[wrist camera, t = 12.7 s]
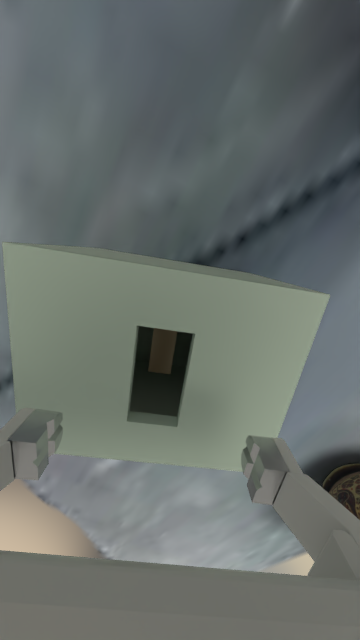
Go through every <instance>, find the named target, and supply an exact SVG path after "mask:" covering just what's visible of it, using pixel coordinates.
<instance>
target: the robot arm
mask: <svg viewBox="0 0 360 640" xmlns="http://www.w3.org/2000/svg"><path fill="white" fill-rule="evenodd" d="M62 420H63V413H61V412H56V411H49V410H42V409H33V408H27V407H25V408H22V409H21V410H20V411H19V412H18V413H17V414H16V415H15V416H14V417H13V418H12V419H11V420H10V421H9V422H8V423H7V424H6V425H5V426H4V427H3V428H2V429H1V430H0V491H1V490H2V489H3V488H5V487H6V486H7V485H8V484H10V483H11V482H12V481H14V479H27V480H39V478H40V477H41V475H42V473H43V472H44V470H45V468H46V467H47V465H48V464H49V460H48V457H50V456H51V455H53V454H54V453H55V452H56V450H57V449H58V447H59V445H60V442H61V439H62V435H63V428H62V426H61V425H60V423H61V422H62ZM245 442H246V445H247V447H245V448H244V449H243V451H242V454H241V465H242V470H243V474H244V475H245V476H246V477H247V478H248V479H249V480H248V483H247V487H248V490H249V494H250V497H251V500H252V502H253V503H261V504H268V505H273V508H274V509H275V510H276V512H277V513H278V514H279V515H280V517H281V518H282V519H283V521H284V522H285V523H286V525H287V526H288V527H289V529H290V530H291V531H292V533H293V534H294V535H295V536H296V538H297V539H298V540H299V542H300V543H301V544H302V546H303V547H304V548H305V550H306V551H307V552H308V554H309V555H310V556H311V557H312V559H313V560H314V561H315V563H314V564H313V566H312V568H311V570H310V571H309V573H308V576H301V575H288V574H276V573H264V572H253V571H241V570H229V569H217V568H205V567H194V566H182V565H170V564H158V563H146V562H134V561H122V560H110V559H98V558H86V557H73V556H61V555H50V554H37V553H26V552H14V551H1V550H0V640H360V520H359V519H358V518H357V517H356V516H354V515H353V514H352V513H351V512H350V511H349V510H347V509H346V508H345V507H344V506H343V505H342V504H341V503H339V502H338V501H337V500H336V499H335V498H334V497H332V496H331V495H330V494H329V493H328V492H327V491H325V490H324V489H323V488H322V487H321V486H320V485H318V484H317V483H316V482H315V481H314V480H313V479H312V478H310V477H309V476H308V475H306V474H303V472H302V471H301V469H300V467H299V465H298V464H297V462H296V460H295V458H294V457H293V455H292V453H291V451H290V450H289V448H288V446H287V444H286V443H285V441H284V440H283V439H282V438H272V437H271V438H270V437H263V436H254V435H248V437H247V439H246V441H245Z"/></svg>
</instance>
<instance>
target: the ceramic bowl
mask: <svg viewBox="0 0 360 640" xmlns="http://www.w3.org/2000/svg"><path fill="white" fill-rule="evenodd" d="M322 488H323V489H324V490H325V491H327V492H328V493H329V494H330V495H331V496H332V497H334V498H335V499H336V500H337V501H338V502H339V503H341V504H342V505H343V506H344V507H345V508H346V509H347V510H349V511H350V512H351V513H352V514H353V515H354V516H356V517H357V518H358V519H359V520H360V464H358V463H356V464H348V465H343V466H341V467H338V468H336V469H335V470H333V471H332V472H331V473H330V474H329V475H328V476H327V478H326V479H325V481H324V482H323V487H322Z"/></svg>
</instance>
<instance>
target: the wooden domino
mask: <svg viewBox="0 0 360 640" xmlns="http://www.w3.org/2000/svg"><path fill="white" fill-rule="evenodd" d="M176 337H177V331H172V330H165V329H158V328H154V331H153V338H152V346H151V353H150V361H149V369H148V372H156V373H164V374H170V373H171V367H172V361H173V355H174V349H175V343H176Z"/></svg>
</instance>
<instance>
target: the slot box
mask: <svg viewBox="0 0 360 640" xmlns="http://www.w3.org/2000/svg"><path fill="white" fill-rule="evenodd" d="M2 247H3V259H4V271H5V283H6V295H7V308H8V320H9V332H10V344H11V357H12V369H13V381H14V393H15V405H16V414H17V413H18V412H19V411H20V410H21V409H22V408H25V407H27V408H33V409H42V410H49V411H56V412H61V413H63V420H62V422H61V423H60V425H61V426H62V428H63V435H62V439H61V442H60V445H59V447H58V449H57V450H56V452H55V453H54V454H64V455H74V456H85V457H95V458H105V459H116V460H126V461H137V462H147V463H158V464H168V465H178V466H189V467H199V468H210V469H220V470H231V471H241V472H243V470H242V465H241V454H242V451H243V449H244V448H245V447H247V445H246V442H245V441H246V439H247V437H248V435H254V436H263V437H270V438H271V437H272V438H277V437H278V434H279V432H280V429H281V426H282V424H283V421H284V418H285V416H286V413H287V410H288V408H289V405H290V402H291V400H292V397H293V394H294V391H295V389H296V386H297V383H298V381H299V378H300V375H301V373H302V370H303V367H304V365H305V362H306V359H307V357H308V354H309V351H310V348H311V346H312V343H313V340H314V338H315V335H316V332H317V330H318V327H319V324H320V322H321V319H322V316H323V314H324V311H325V308H326V306H327V303H328V300H329V297H330V295H329V294H325V293H322V292H318V291H314V290H310V289H307V288H303V287H299V286H296V285H292V284H288V283H285V282H281V281H277V280H273V279H270V278H266V277H262V276H259V275H255V274H251V273H246V272H240V271H234V270H228V269H222V268H216V267H210V266H204V265H198V264H192V263H186V262H180V261H174V260H168V259H161V258H155V257H149V256H143V255H137V254H131V253H125V252H119V251H113V250H107V249H101V248H91V247H76V246H60V245H44V244H28V243H12V242H2ZM154 328H158V329H165V330H172V331H177V337H176V343H175V349H174V355H173V361H172V367H171V373H170V374H164V373H156V372H148V369H149V361H150V353H151V346H152V338H153V331H154Z"/></svg>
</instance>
